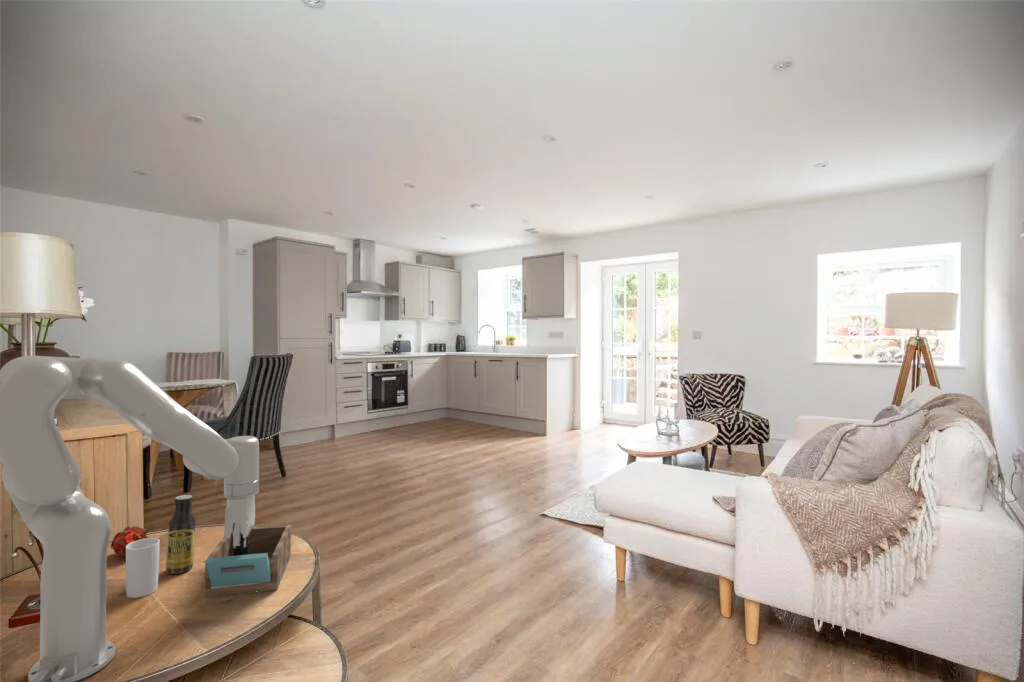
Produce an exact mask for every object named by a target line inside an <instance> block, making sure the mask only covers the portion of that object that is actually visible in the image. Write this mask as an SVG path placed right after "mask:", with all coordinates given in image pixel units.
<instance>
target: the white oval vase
mask: <svg viewBox="0 0 1024 682" xmlns="http://www.w3.org/2000/svg"><path fill="white" fill-rule="evenodd" d="M159 569H160V539H159V538H155V537H149V538H146V539H141V540H137V541H134V542H131V543H129V544H128V545H127V546H126V559H125V588H126V589H125V593H126V597H127V598H129V599H137V598H144V597H147V596H149V595H151V594H153V593H155V592H157V590H158V588H159V587H158V586H159V572H160V571H159Z"/></svg>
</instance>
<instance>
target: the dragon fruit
mask: <svg viewBox="0 0 1024 682" xmlns="http://www.w3.org/2000/svg"><path fill="white" fill-rule="evenodd" d="M148 531H149V530H148V529H147V528H143V527H141V526H140V525H134V526H127V527H125V528H124V529H123V530H122V531H120V532H118V533H116V534H115V535H114V536H113V539H112V542H111V544H110V549H111V550H113V552H114V554H115V555H116V556H118V558H119V559H120V560H122V561H126V546H127V545H128V544H129V543H131V542H134V541H137V540H141V539H146V538H150V537H148V536H147V533H148Z"/></svg>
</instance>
